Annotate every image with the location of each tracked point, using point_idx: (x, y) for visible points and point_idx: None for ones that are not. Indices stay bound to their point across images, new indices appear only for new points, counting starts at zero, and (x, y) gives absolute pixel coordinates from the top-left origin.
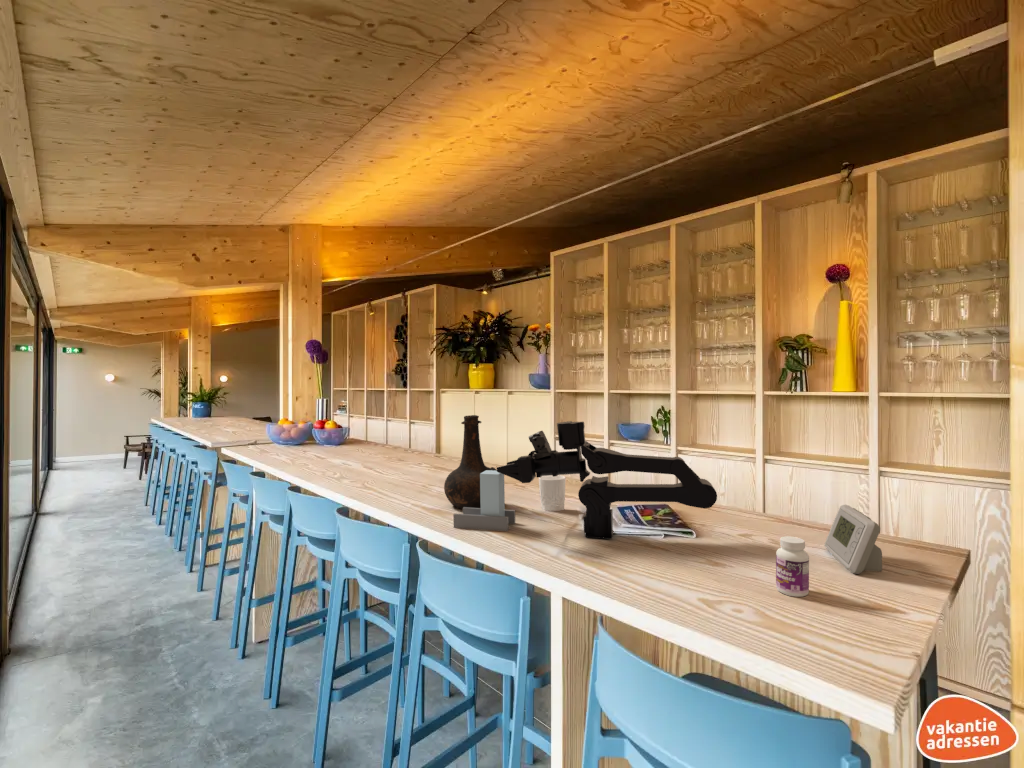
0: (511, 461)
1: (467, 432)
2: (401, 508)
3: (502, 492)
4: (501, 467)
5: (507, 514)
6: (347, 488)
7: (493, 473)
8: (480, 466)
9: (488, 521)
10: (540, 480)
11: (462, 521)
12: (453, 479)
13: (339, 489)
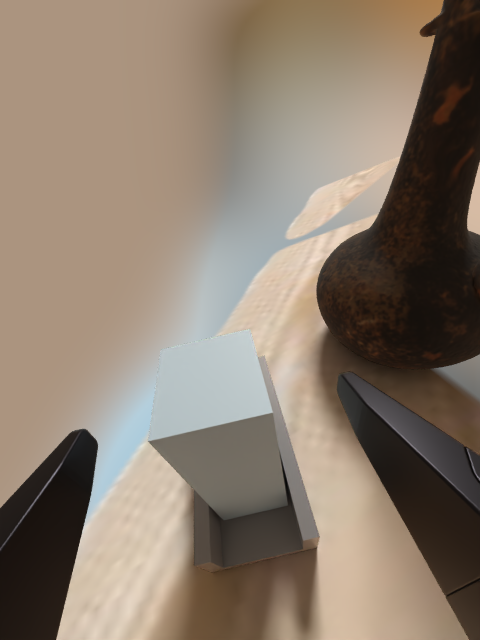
0: (361, 398)
1: (425, 86)
2: (291, 264)
3: (248, 470)
4: (36, 477)
5: (293, 506)
6: (329, 198)
7: (172, 399)
8: (420, 248)
9: None
10: None
11: None
12: (328, 259)
13: (319, 198)
